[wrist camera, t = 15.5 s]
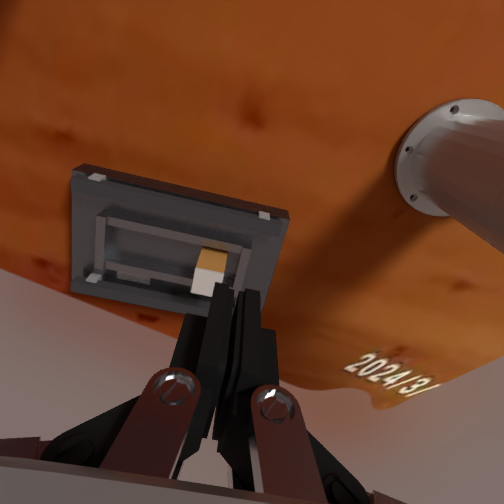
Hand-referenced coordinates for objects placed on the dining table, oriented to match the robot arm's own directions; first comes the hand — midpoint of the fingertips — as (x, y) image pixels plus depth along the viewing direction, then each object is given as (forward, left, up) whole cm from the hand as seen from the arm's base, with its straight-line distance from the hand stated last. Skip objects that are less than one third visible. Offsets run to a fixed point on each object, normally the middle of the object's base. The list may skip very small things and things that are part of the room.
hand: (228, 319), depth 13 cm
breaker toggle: (+1, +12, -26) cm, 29 cm away
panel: (+6, +12, -29) cm, 32 cm away
